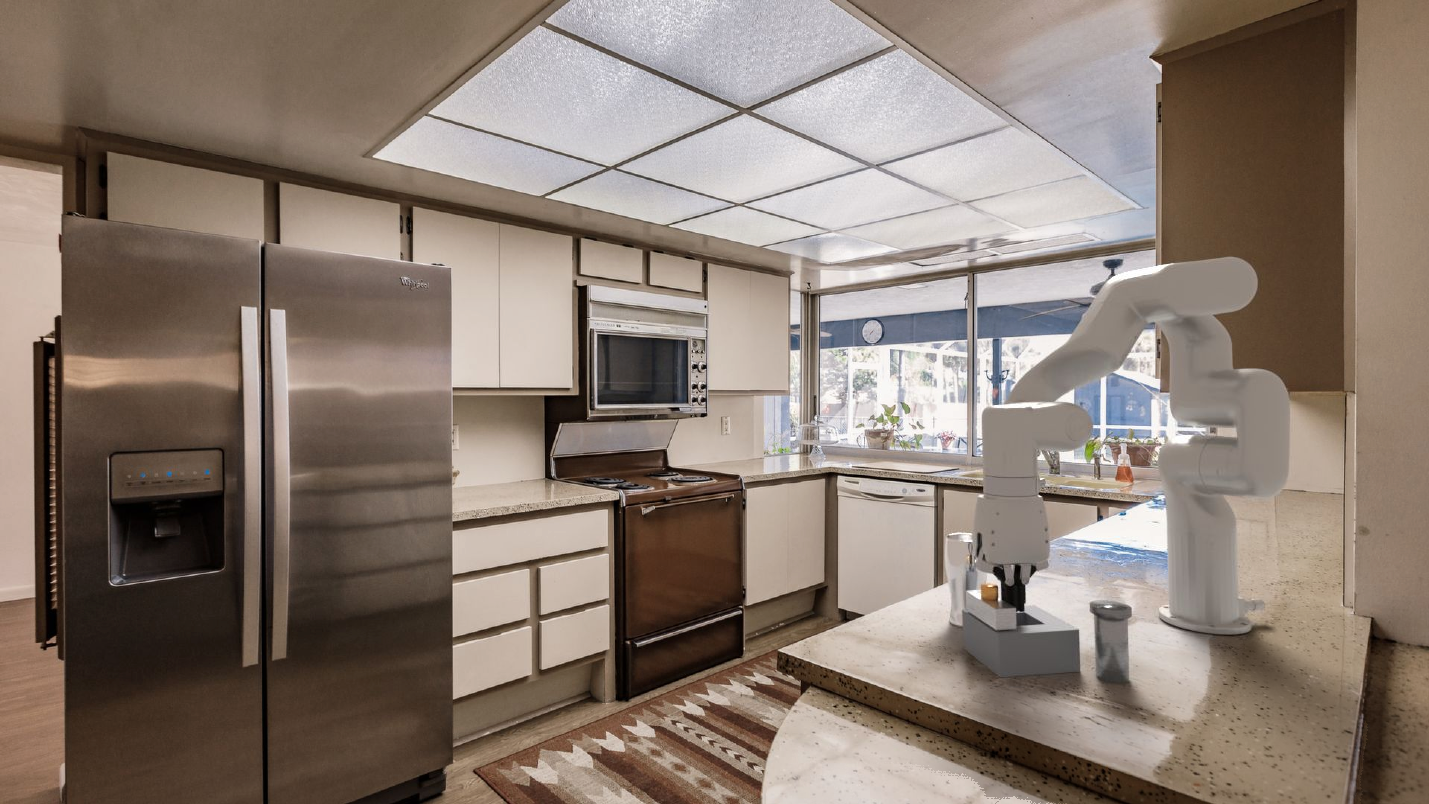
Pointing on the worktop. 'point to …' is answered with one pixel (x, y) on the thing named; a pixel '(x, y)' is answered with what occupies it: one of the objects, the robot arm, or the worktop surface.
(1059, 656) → the block
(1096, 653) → the grey capped cylinder
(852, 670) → the worktop surface
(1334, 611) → the worktop surface
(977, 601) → the bar
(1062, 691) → the worktop surface
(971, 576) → the beer glass
